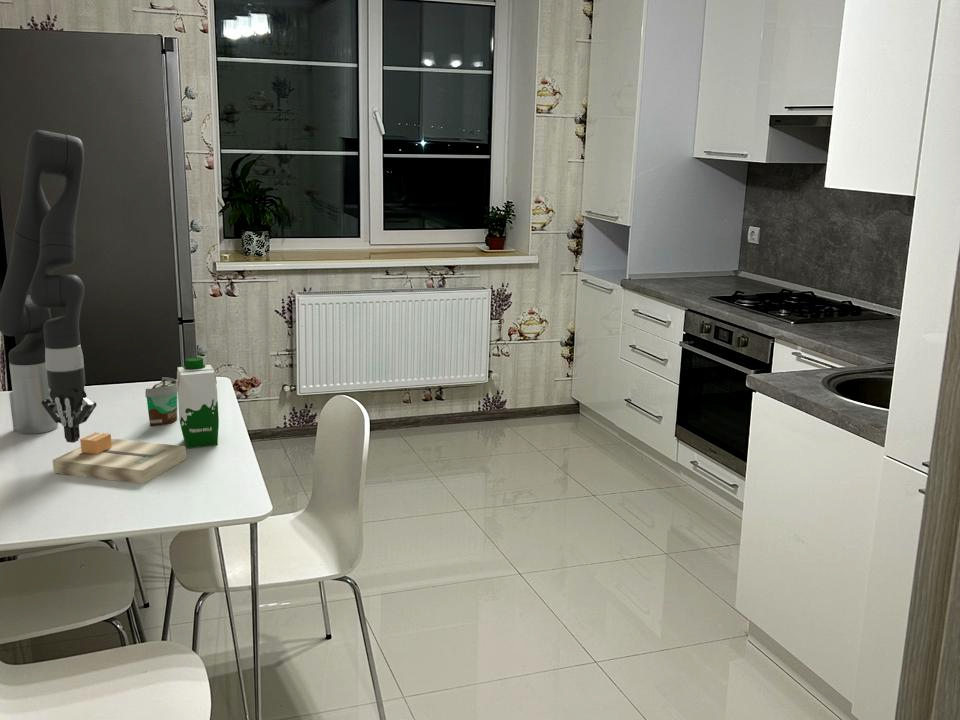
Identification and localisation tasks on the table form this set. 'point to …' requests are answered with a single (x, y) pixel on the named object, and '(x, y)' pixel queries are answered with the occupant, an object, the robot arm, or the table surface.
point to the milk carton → (198, 403)
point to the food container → (162, 402)
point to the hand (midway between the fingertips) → (72, 441)
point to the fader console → (122, 461)
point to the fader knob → (96, 443)
